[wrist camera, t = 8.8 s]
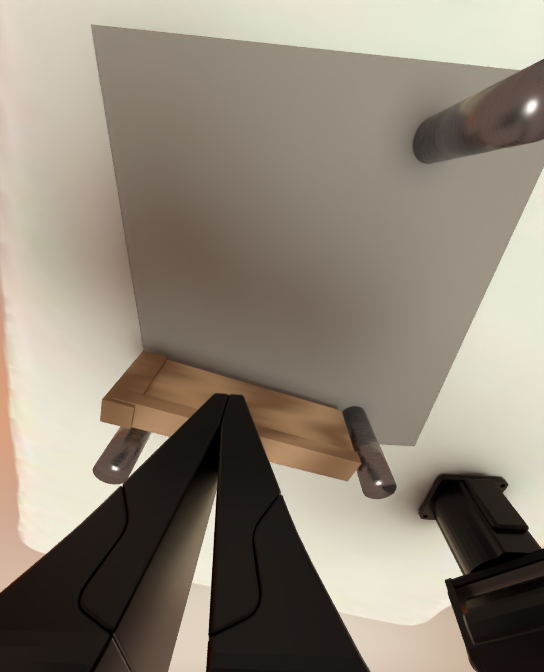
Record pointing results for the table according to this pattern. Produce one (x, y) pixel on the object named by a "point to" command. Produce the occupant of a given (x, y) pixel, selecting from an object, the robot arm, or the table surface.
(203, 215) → the mat
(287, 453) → the gate
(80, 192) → the table surface
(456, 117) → the gate posts
